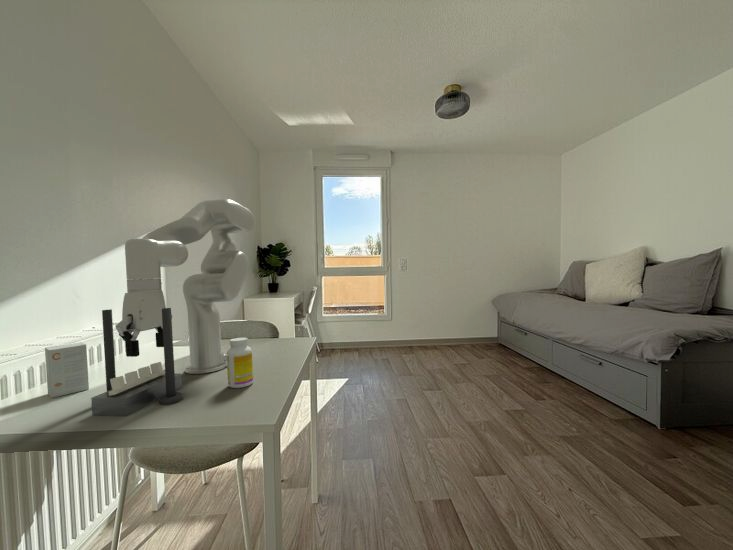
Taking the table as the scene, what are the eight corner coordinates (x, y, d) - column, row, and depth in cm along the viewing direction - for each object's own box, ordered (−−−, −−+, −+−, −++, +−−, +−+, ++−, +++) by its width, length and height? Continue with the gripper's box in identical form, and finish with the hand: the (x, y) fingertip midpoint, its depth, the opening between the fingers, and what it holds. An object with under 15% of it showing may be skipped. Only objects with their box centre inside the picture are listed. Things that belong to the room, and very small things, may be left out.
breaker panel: (153, 387, 95) (152, 373, 95) (181, 387, 94) (181, 373, 94) (92, 415, 77) (91, 397, 77) (126, 416, 76) (125, 398, 76)
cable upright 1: (123, 394, 90) (118, 308, 90) (124, 399, 86) (119, 309, 86) (100, 399, 87) (94, 310, 87) (99, 405, 83) (93, 311, 83)
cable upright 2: (181, 395, 88) (176, 306, 87) (184, 400, 84) (179, 308, 83) (158, 400, 85) (153, 308, 84) (160, 406, 81) (155, 310, 80)
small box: (84, 385, 100) (82, 341, 99) (89, 389, 95) (86, 344, 95) (46, 393, 93) (44, 347, 93) (50, 398, 89) (47, 350, 89)
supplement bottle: (258, 382, 96) (256, 337, 96) (240, 390, 90) (238, 342, 90) (241, 379, 99) (238, 336, 99) (222, 387, 93) (220, 341, 93)
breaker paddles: (160, 374, 93) (157, 362, 94) (167, 372, 93) (164, 360, 93) (107, 396, 78) (104, 381, 78) (116, 394, 77) (113, 379, 77)
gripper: (157, 284, 97) (160, 343, 97) (101, 289, 80) (105, 360, 80) (180, 284, 96) (183, 343, 96) (129, 288, 79) (133, 360, 79)
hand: (148, 351), depth 88 cm, fingers open, 9 cm apart
